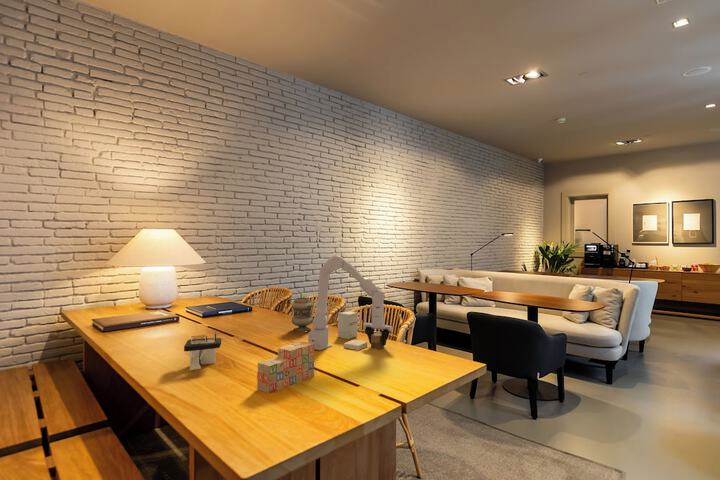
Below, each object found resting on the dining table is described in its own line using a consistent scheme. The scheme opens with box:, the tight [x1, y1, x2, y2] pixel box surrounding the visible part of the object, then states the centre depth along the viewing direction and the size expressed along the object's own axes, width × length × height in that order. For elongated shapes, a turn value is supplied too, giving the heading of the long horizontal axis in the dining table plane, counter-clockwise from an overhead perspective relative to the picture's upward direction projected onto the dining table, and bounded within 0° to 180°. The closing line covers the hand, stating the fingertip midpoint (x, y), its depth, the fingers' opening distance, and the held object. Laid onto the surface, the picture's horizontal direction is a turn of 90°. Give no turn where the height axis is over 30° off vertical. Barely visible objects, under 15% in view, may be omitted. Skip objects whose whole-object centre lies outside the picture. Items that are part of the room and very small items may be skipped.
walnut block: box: [370, 332, 385, 350], centre depth 186 cm, size 4×4×6 cm
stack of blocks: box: [256, 341, 315, 394], centre depth 140 cm, size 21×6×12 cm, turn 143°
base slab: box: [343, 339, 368, 351], centre depth 187 cm, size 8×8×2 cm
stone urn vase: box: [291, 296, 314, 333], centre depth 220 cm, size 12×12×18 cm
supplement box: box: [337, 311, 358, 340], centre depth 206 cm, size 7×7×13 cm
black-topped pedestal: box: [183, 332, 222, 371], centre depth 157 cm, size 28×26×13 cm
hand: (377, 344), depth 186 cm, fingers open, 6 cm apart
